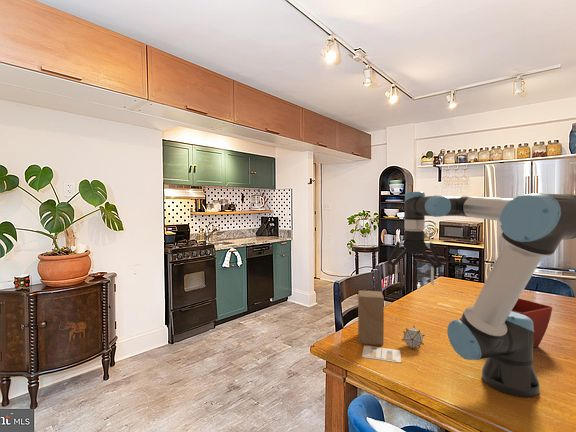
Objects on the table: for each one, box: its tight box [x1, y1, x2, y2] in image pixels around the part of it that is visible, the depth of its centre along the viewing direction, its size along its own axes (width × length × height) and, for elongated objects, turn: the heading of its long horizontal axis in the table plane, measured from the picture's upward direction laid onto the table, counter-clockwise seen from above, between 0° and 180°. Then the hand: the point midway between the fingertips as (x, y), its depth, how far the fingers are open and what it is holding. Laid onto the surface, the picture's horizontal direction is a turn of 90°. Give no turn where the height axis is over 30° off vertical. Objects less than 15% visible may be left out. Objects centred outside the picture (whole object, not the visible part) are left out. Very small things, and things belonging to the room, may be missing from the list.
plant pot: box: [512, 297, 553, 348], centre depth 131 cm, size 19×19×17 cm
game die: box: [401, 325, 426, 351], centre depth 127 cm, size 9×8×10 cm
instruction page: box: [361, 345, 402, 364], centre depth 121 cm, size 10×14×1 cm
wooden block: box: [357, 290, 385, 346], centre depth 134 cm, size 10×10×20 cm
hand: (413, 282), depth 126 cm, fingers open, 13 cm apart
